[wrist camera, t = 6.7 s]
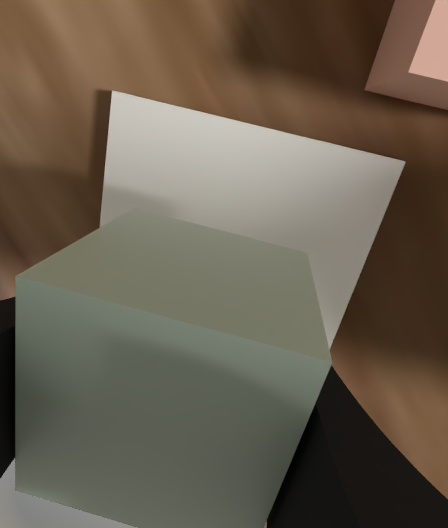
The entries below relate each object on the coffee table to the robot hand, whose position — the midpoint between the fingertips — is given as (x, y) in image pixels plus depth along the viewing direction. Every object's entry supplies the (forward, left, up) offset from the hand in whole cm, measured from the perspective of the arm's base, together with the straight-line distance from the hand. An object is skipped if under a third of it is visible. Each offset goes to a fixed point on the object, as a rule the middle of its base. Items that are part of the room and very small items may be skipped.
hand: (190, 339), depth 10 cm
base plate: (0, 0, -7) cm, 7 cm away
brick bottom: (0, 0, -2) cm, 2 cm away
